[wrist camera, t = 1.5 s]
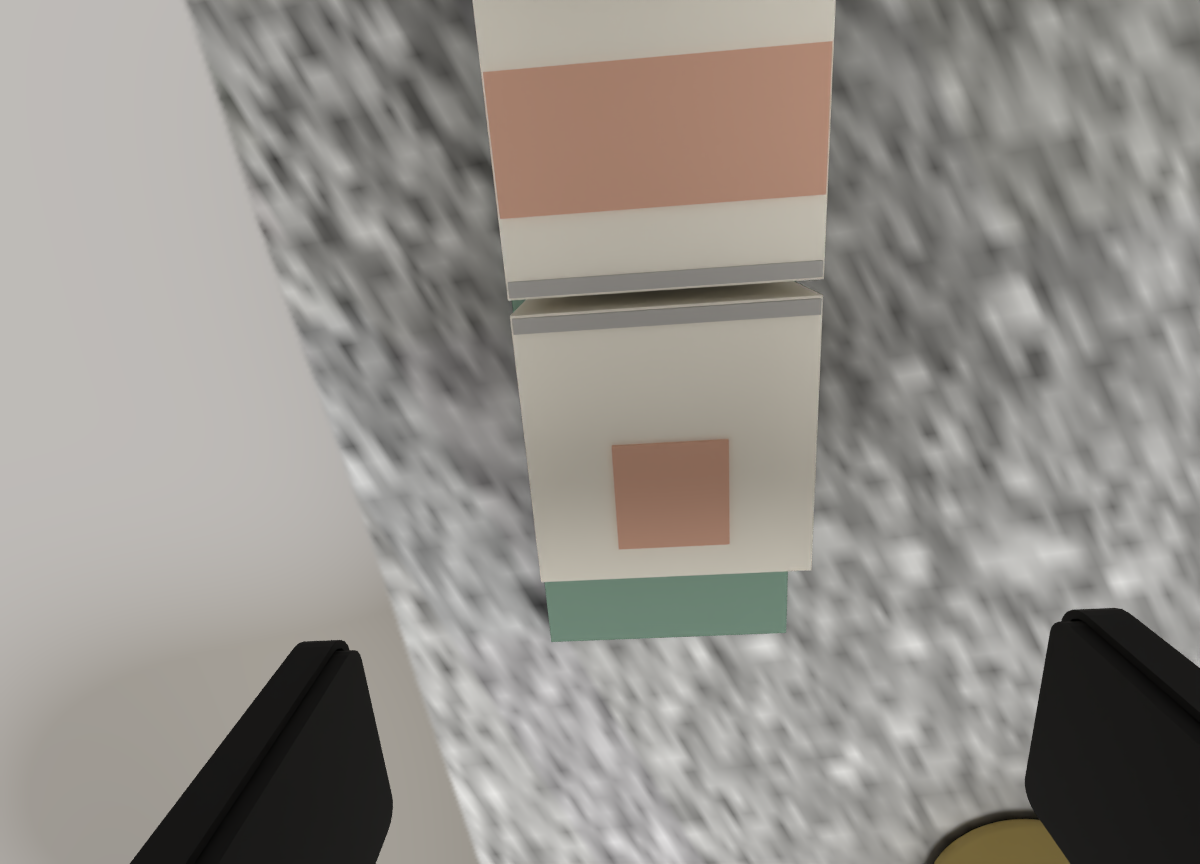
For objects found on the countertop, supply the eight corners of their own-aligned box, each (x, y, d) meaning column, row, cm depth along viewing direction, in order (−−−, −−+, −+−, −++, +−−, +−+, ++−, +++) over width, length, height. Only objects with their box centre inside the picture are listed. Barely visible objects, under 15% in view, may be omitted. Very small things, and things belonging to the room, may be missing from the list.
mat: (456, -194, 15) (453, -201, 15) (807, -233, 15) (810, -241, 14) (552, 636, 23) (551, 641, 22) (783, 627, 22) (785, 632, 22)
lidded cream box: (497, -32, 16) (414, -188, 9) (780, -60, 15) (889, -240, 9) (529, 270, 18) (479, 307, 12) (775, 253, 18) (858, 281, 11)
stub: (544, 280, 18) (508, 317, 13) (760, 265, 18) (824, 295, 12) (564, 475, 20) (540, 585, 14) (757, 465, 20) (812, 572, 14)
